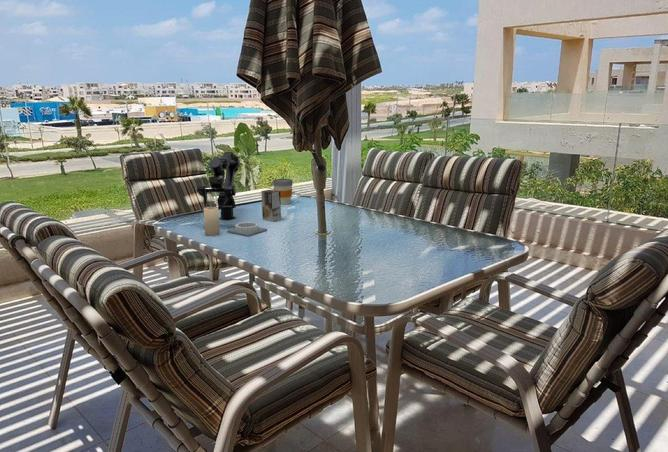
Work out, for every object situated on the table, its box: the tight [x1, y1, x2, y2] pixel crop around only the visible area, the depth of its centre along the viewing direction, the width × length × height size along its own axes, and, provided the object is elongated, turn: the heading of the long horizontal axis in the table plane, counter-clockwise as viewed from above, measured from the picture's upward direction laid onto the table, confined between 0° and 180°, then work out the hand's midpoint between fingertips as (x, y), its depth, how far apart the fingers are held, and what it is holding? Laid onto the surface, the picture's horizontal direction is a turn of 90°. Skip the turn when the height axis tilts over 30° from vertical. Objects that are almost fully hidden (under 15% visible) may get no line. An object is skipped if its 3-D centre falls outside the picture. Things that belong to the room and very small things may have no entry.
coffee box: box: [261, 189, 282, 223], centre depth 275 cm, size 9×6×16 cm
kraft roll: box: [203, 206, 221, 237], centre depth 245 cm, size 7×7×13 cm
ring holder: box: [226, 221, 268, 238], centre depth 251 cm, size 14×14×4 cm
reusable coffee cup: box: [272, 178, 293, 206], centre depth 318 cm, size 13×13×15 cm
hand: (214, 204), depth 252 cm, fingers open, 9 cm apart
